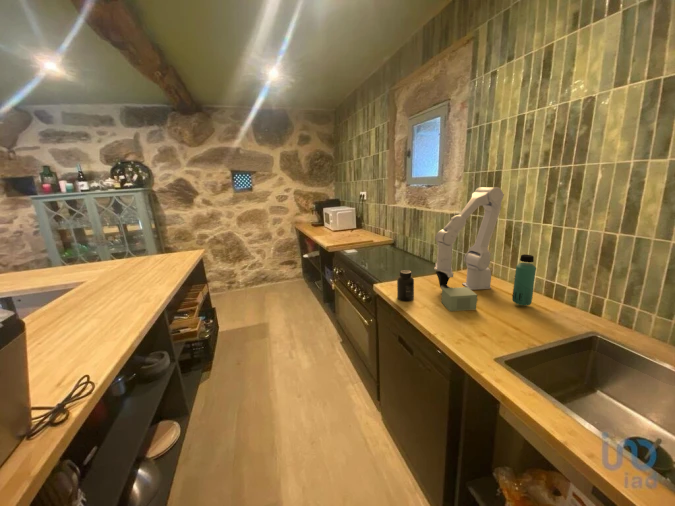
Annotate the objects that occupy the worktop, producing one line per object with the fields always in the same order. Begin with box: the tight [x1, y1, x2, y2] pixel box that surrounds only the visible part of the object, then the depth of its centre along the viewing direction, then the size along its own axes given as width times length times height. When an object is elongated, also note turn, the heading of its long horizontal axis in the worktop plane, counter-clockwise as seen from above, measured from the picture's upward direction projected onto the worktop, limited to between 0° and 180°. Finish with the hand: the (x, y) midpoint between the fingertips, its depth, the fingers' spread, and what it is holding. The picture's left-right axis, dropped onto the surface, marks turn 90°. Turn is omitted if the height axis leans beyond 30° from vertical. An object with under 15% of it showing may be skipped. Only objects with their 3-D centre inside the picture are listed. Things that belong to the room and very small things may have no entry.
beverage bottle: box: [511, 254, 537, 306], centre depth 104 cm, size 6×7×20 cm
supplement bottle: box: [396, 269, 415, 302], centre depth 116 cm, size 7×7×12 cm
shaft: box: [440, 283, 454, 290], centre depth 114 cm, size 14×5×5 cm, turn 2°
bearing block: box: [440, 286, 478, 312], centre depth 108 cm, size 10×8×6 cm
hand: (442, 287), depth 122 cm, fingers closed
